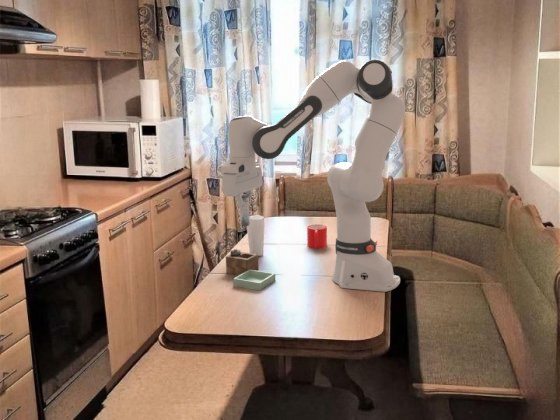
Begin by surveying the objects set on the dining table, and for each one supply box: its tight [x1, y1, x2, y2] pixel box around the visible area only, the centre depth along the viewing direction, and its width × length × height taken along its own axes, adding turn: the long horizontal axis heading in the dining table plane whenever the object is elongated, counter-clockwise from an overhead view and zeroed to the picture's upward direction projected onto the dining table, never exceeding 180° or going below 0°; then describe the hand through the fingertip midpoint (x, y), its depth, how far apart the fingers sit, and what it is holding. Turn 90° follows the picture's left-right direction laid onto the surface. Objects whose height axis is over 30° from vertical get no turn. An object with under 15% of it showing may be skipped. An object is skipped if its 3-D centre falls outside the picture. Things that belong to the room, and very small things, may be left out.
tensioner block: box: [225, 248, 259, 276], centre depth 205 cm, size 9×7×8 cm
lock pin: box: [239, 193, 250, 227], centre depth 199 cm, size 3×3×11 cm
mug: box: [306, 224, 328, 249], centre depth 232 cm, size 8×12×8 cm, turn 177°
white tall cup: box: [246, 214, 265, 257], centre depth 223 cm, size 7×7×15 cm
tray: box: [232, 269, 276, 291], centre depth 194 cm, size 10×10×2 cm
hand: (244, 204), depth 198 cm, fingers closed on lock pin, 3 cm apart
